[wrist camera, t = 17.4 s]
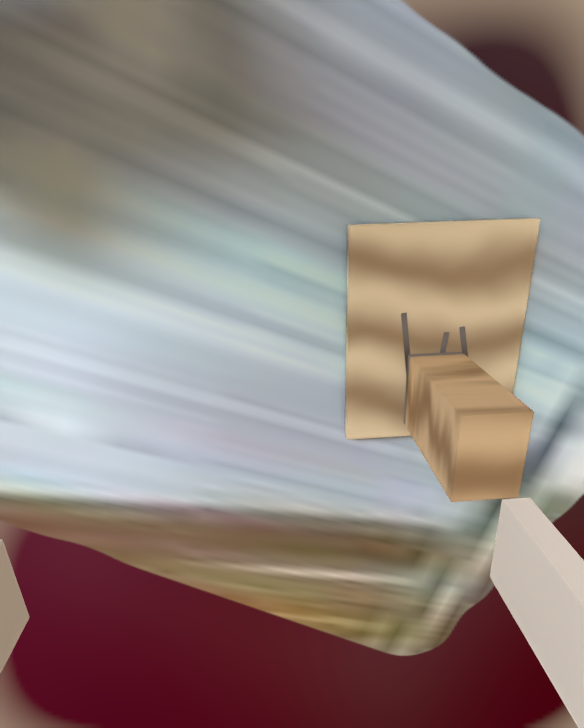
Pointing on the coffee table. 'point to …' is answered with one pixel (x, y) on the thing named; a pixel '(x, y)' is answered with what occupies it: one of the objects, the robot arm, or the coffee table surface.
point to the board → (430, 307)
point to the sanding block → (466, 426)
